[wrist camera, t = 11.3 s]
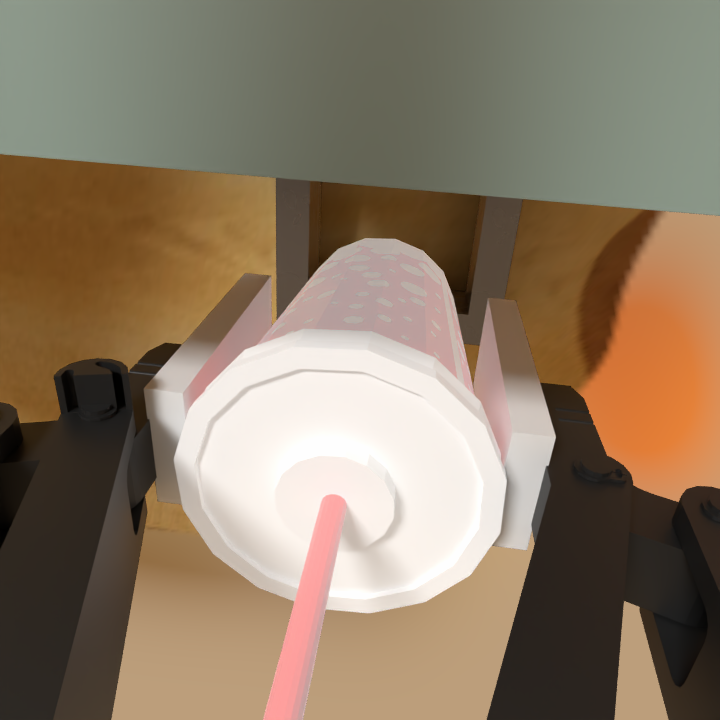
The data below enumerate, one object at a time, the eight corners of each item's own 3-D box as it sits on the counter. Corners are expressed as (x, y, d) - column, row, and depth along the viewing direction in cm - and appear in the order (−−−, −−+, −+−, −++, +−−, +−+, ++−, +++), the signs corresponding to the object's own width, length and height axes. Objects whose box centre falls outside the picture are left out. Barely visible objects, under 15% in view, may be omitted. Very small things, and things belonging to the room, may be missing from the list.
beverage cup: (246, 279, 19) (-118, 708, 7) (410, 169, 17) (325, 500, 4) (355, 421, 21) (231, 957, 9) (515, 338, 19) (657, 892, 6)
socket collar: (290, 301, 32) (276, 324, 29) (291, 82, 27) (275, 86, 24) (490, 321, 31) (495, 346, 29) (529, 100, 26) (539, 106, 24)
